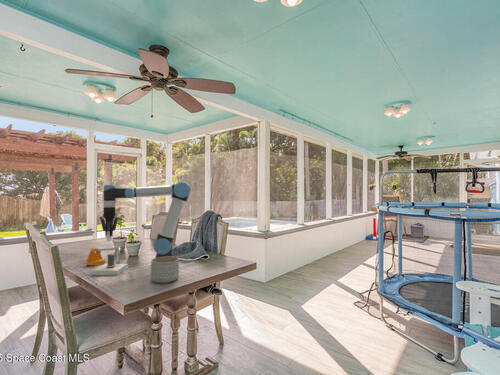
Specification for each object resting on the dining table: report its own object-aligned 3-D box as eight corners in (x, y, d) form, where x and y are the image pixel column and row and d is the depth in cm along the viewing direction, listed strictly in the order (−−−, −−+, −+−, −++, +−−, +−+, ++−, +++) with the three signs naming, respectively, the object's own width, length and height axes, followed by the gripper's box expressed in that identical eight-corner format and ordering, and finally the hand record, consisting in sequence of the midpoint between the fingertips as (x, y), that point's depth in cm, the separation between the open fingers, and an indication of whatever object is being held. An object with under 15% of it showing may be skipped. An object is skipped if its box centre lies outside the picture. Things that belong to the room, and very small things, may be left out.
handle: (119, 267, 190) (119, 247, 190) (94, 269, 183) (94, 249, 184) (119, 266, 192) (120, 247, 192) (94, 268, 186) (95, 248, 186)
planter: (151, 285, 154) (152, 264, 154) (150, 277, 169) (150, 257, 169) (180, 282, 160) (180, 261, 161) (176, 274, 175) (176, 255, 176)
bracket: (90, 266, 192) (91, 250, 192) (86, 265, 196) (86, 248, 196) (105, 263, 200) (106, 247, 201) (101, 262, 205) (101, 246, 205)
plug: (116, 270, 183) (116, 253, 183) (112, 272, 178) (112, 255, 178) (109, 270, 183) (109, 253, 183) (105, 272, 178) (105, 255, 178)
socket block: (127, 268, 189) (127, 263, 189) (116, 275, 173) (117, 270, 173) (105, 268, 188) (105, 263, 188) (92, 275, 172) (92, 270, 172)
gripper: (121, 206, 187) (121, 239, 186) (103, 206, 187) (102, 239, 187) (116, 207, 179) (115, 241, 179) (97, 207, 179) (96, 241, 179)
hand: (109, 240), depth 183 cm, fingers closed
